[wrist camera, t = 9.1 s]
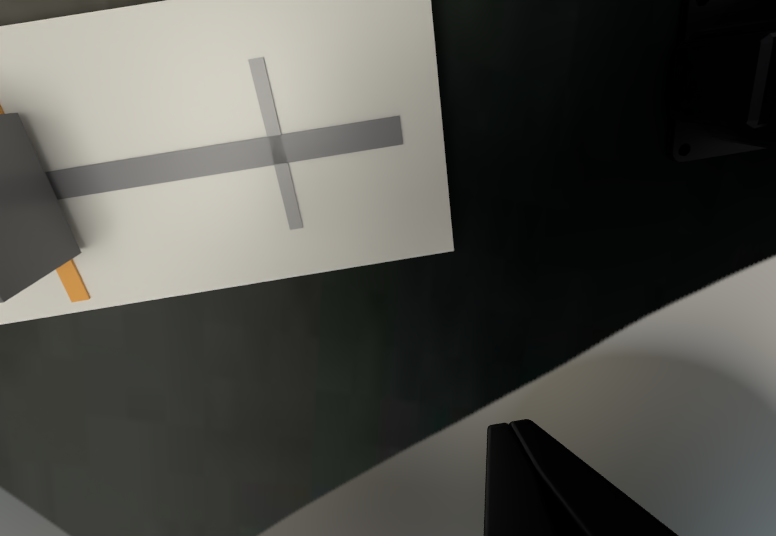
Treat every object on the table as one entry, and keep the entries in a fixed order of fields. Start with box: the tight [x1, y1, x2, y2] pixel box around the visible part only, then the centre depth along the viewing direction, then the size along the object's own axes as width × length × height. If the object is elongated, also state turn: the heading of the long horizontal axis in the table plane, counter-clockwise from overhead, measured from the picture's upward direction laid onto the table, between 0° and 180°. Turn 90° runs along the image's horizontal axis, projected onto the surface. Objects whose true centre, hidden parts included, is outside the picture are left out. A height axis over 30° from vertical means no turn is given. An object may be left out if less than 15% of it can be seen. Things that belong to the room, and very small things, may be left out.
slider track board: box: [0, 0, 454, 325], centre depth 17 cm, size 20×10×2 cm, turn 98°
